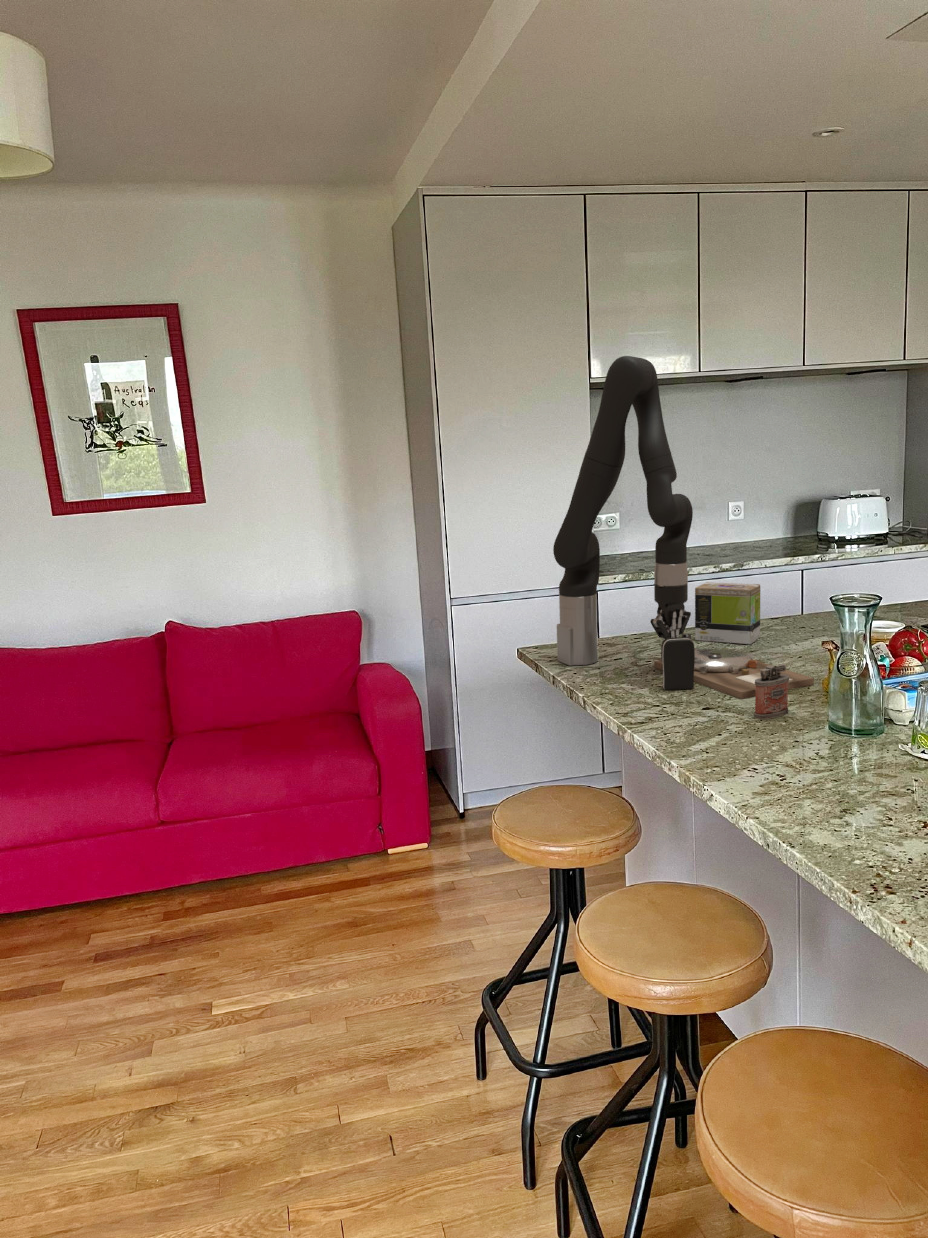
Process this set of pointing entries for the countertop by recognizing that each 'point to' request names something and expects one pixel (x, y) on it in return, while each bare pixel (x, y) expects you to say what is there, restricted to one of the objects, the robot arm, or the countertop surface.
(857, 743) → the countertop surface
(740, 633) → the tea box
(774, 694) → the lighter
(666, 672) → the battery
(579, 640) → the robot arm
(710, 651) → the sprocket
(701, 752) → the countertop surface
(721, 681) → the board
